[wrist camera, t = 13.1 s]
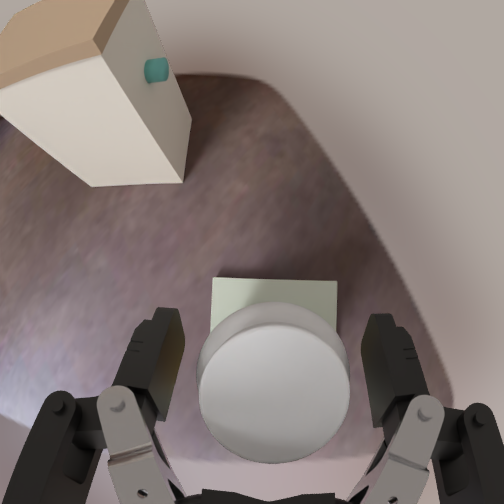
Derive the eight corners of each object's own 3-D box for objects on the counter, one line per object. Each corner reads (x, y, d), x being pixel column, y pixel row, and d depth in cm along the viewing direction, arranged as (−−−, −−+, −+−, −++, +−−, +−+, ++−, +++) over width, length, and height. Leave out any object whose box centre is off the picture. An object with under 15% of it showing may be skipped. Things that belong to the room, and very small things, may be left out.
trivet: (209, 411, 17) (207, 414, 16) (214, 278, 19) (212, 277, 18) (328, 415, 17) (330, 418, 16) (335, 282, 18) (337, 280, 18)
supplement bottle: (213, 387, 17) (156, 458, 7) (234, 295, 18) (195, 275, 8) (306, 407, 16) (343, 495, 7) (329, 316, 17) (396, 318, 8)
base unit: (88, 189, 20) (-36, 93, 8) (103, 126, 21) (13, 14, 9) (194, 185, 20) (108, 34, 7) (203, 116, 21) (151, -38, 8)
